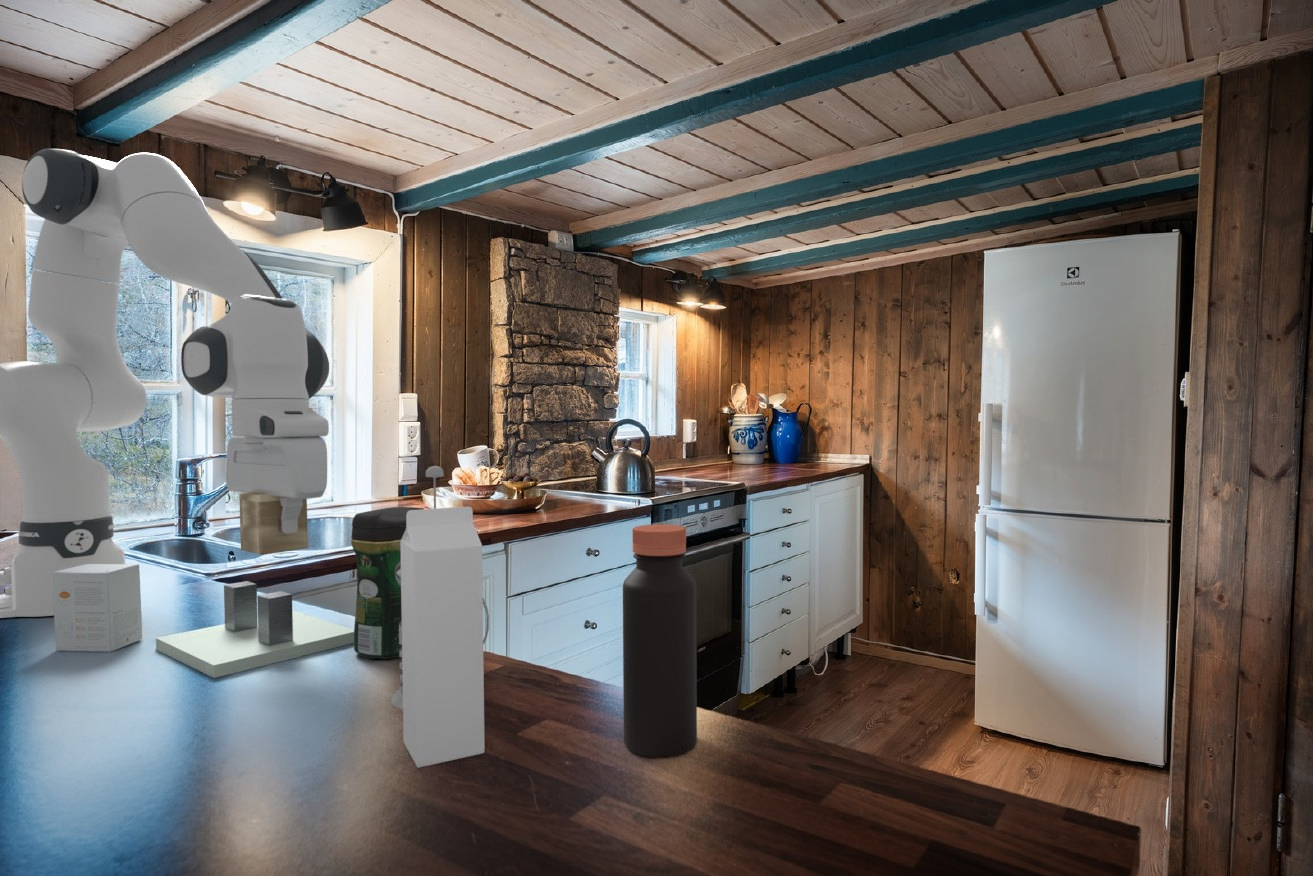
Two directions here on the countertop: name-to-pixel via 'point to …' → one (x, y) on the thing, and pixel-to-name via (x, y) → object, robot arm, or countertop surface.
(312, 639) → the board
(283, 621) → the post
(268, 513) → the wood grain cuboid
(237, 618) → the post
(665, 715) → the bottle
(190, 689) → the countertop surface
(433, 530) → the milk
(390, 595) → the coffee jar
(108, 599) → the small box
